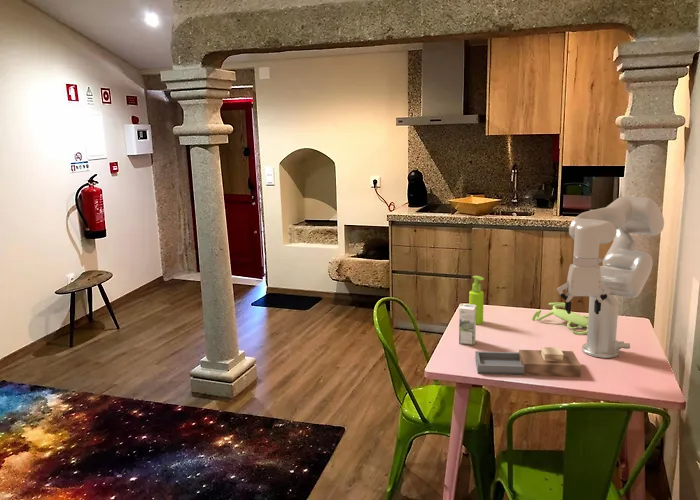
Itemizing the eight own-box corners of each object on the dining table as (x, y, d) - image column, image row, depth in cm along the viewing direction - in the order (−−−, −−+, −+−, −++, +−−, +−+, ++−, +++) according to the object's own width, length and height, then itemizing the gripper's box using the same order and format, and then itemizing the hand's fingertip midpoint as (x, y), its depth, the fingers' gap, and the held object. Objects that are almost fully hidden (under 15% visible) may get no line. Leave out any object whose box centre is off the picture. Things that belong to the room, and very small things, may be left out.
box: (518, 360, 205) (519, 352, 205) (523, 375, 194) (524, 366, 193) (475, 359, 207) (475, 351, 207) (477, 373, 196) (477, 365, 195)
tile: (559, 354, 200) (559, 347, 199) (563, 361, 194) (563, 354, 193) (541, 353, 200) (541, 347, 200) (544, 360, 195) (544, 354, 194)
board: (572, 361, 203) (572, 351, 202) (580, 376, 191) (581, 365, 190) (518, 360, 205) (519, 349, 204) (523, 375, 194) (524, 363, 193)
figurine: (554, 310, 256) (555, 298, 255) (610, 327, 235) (611, 314, 233) (526, 319, 247) (526, 306, 245) (581, 337, 225) (582, 323, 224)
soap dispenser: (476, 326, 239) (477, 279, 235) (465, 321, 245) (466, 275, 241) (487, 323, 242) (488, 277, 237) (476, 318, 248) (477, 273, 243)
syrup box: (475, 339, 225) (476, 304, 222) (473, 345, 219) (474, 309, 216) (460, 338, 227) (461, 303, 224) (458, 344, 221) (458, 307, 218)
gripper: (610, 259, 191) (606, 309, 195) (555, 258, 193) (552, 308, 197) (617, 264, 183) (613, 317, 187) (559, 264, 186) (557, 316, 190)
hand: (582, 312), depth 192 cm, fingers open, 8 cm apart
